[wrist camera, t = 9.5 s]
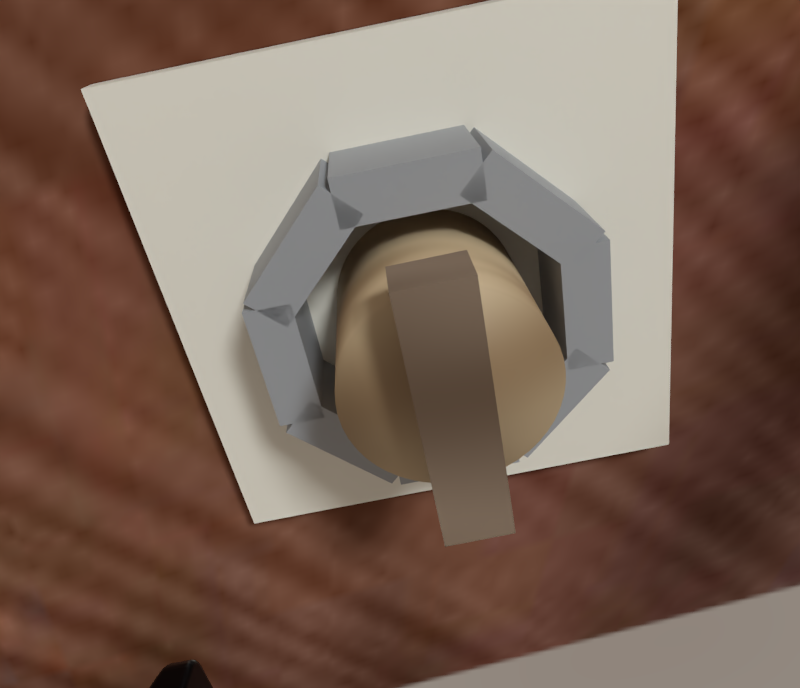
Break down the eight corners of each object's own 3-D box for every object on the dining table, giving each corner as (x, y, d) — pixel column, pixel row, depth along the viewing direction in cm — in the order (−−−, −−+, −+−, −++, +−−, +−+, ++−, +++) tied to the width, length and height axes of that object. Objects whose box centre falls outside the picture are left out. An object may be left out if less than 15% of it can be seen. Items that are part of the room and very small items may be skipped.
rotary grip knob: (525, 371, 20) (590, 518, 15) (364, 404, 20) (371, 560, 15) (501, 164, 17) (572, 254, 12) (310, 204, 17) (294, 311, 12)
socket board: (664, -37, 16) (731, -38, 13) (658, 429, 23) (702, 493, 20) (91, 83, 16) (39, 107, 14) (256, 506, 23) (244, 580, 20)
